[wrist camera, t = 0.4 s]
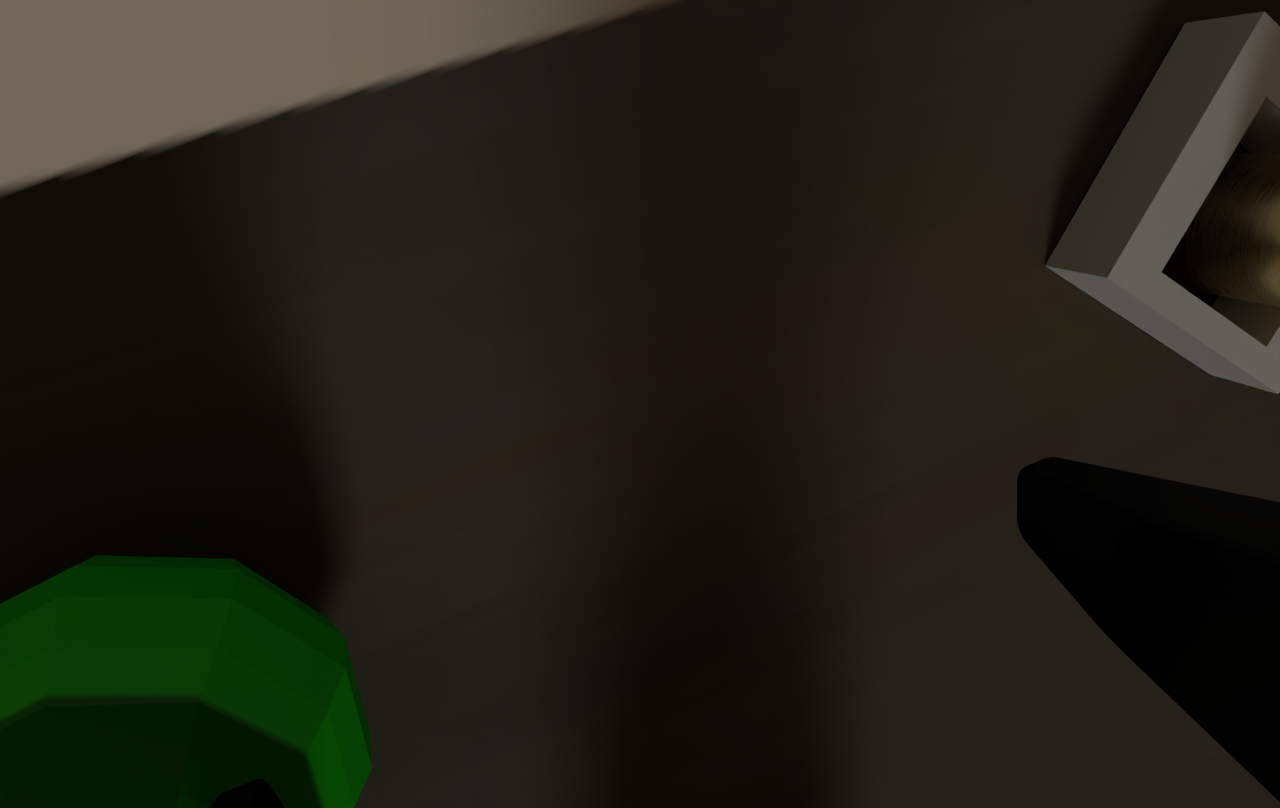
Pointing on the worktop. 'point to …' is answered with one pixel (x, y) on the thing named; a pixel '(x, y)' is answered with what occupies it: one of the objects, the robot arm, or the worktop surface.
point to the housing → (1183, 197)
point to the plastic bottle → (174, 690)
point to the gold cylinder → (1235, 234)
